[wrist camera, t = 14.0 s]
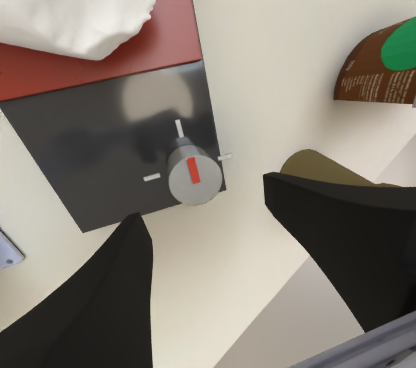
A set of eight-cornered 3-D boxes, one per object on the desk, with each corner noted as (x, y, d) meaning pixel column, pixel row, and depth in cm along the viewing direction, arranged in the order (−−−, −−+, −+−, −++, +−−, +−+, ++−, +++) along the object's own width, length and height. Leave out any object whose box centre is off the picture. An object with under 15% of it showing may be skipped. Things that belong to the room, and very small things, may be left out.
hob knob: (214, 180, 18) (227, 198, 15) (174, 191, 18) (177, 214, 14) (206, 139, 16) (218, 150, 13) (160, 151, 16) (161, 165, 12)
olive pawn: (296, 141, 21) (418, 180, 11) (332, 159, 23) (459, 204, 13) (270, 188, 23) (354, 257, 13) (305, 201, 25) (400, 267, 15)
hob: (92, 225, 19) (85, 239, 17) (-93, -76, 10) (-153, -117, 8) (230, 184, 21) (238, 192, 19) (184, -103, 12) (189, -141, 10)
